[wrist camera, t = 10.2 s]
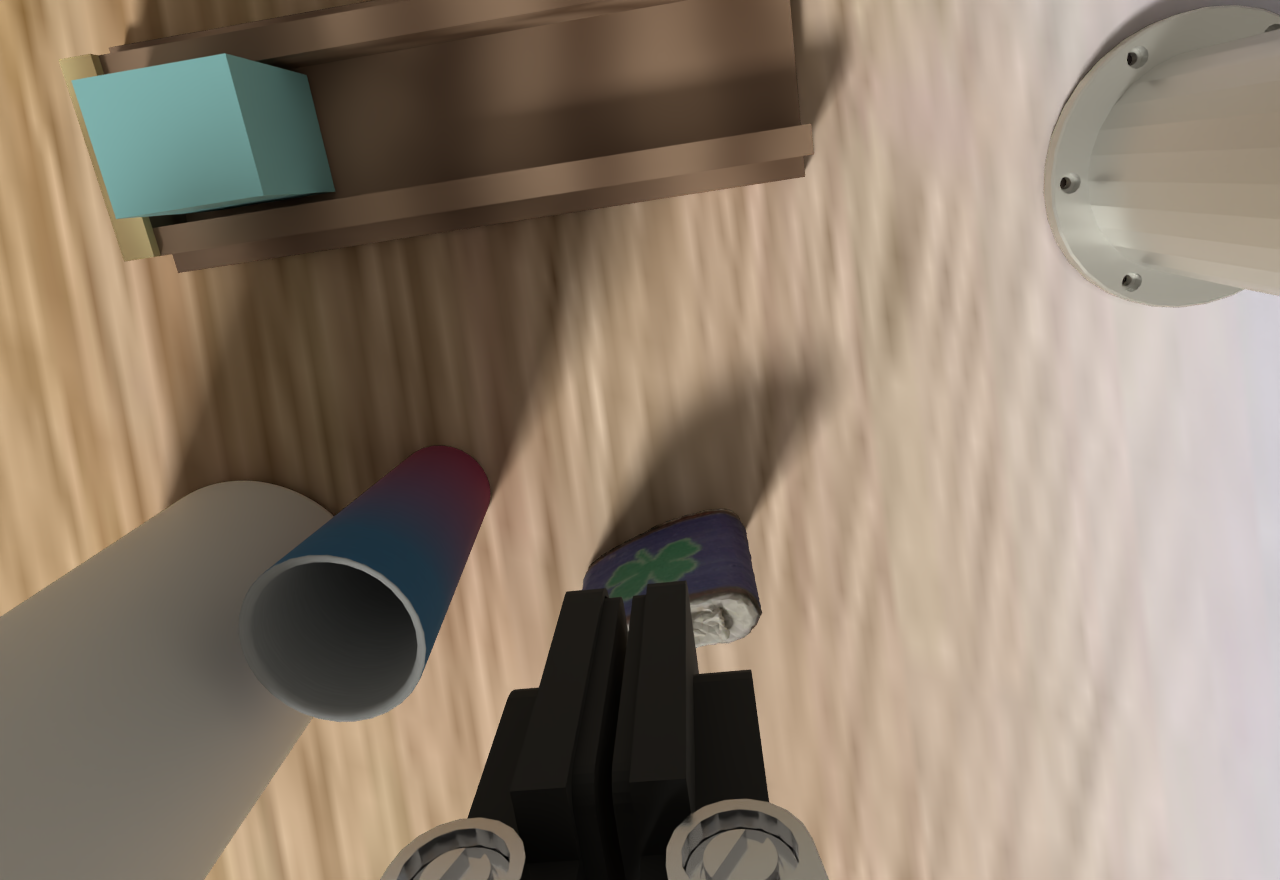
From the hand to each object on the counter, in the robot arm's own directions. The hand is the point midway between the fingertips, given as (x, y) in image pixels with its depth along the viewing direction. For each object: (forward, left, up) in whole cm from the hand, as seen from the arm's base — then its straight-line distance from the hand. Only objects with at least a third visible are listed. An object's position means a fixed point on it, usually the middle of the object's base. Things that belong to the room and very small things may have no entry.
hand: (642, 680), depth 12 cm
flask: (+2, +12, -31) cm, 33 cm away
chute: (+8, -11, -31) cm, 33 cm away
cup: (+13, +7, -31) cm, 34 cm away
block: (+17, -11, -30) cm, 36 cm away
